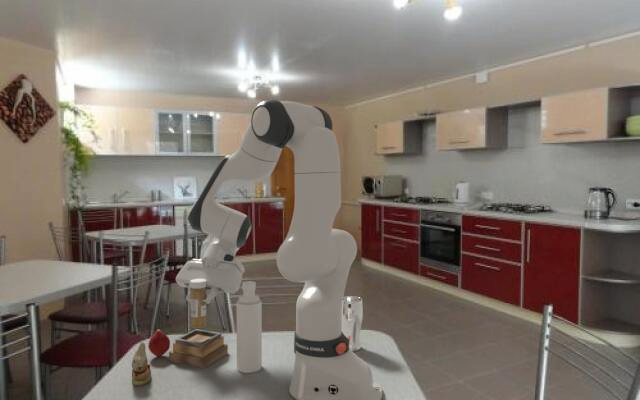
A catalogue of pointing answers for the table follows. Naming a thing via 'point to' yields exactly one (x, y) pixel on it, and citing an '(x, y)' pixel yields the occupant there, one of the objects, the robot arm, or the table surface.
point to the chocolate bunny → (140, 367)
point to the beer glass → (352, 320)
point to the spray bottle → (249, 329)
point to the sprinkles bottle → (198, 303)
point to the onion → (159, 343)
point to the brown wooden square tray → (198, 348)
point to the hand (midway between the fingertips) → (197, 301)
